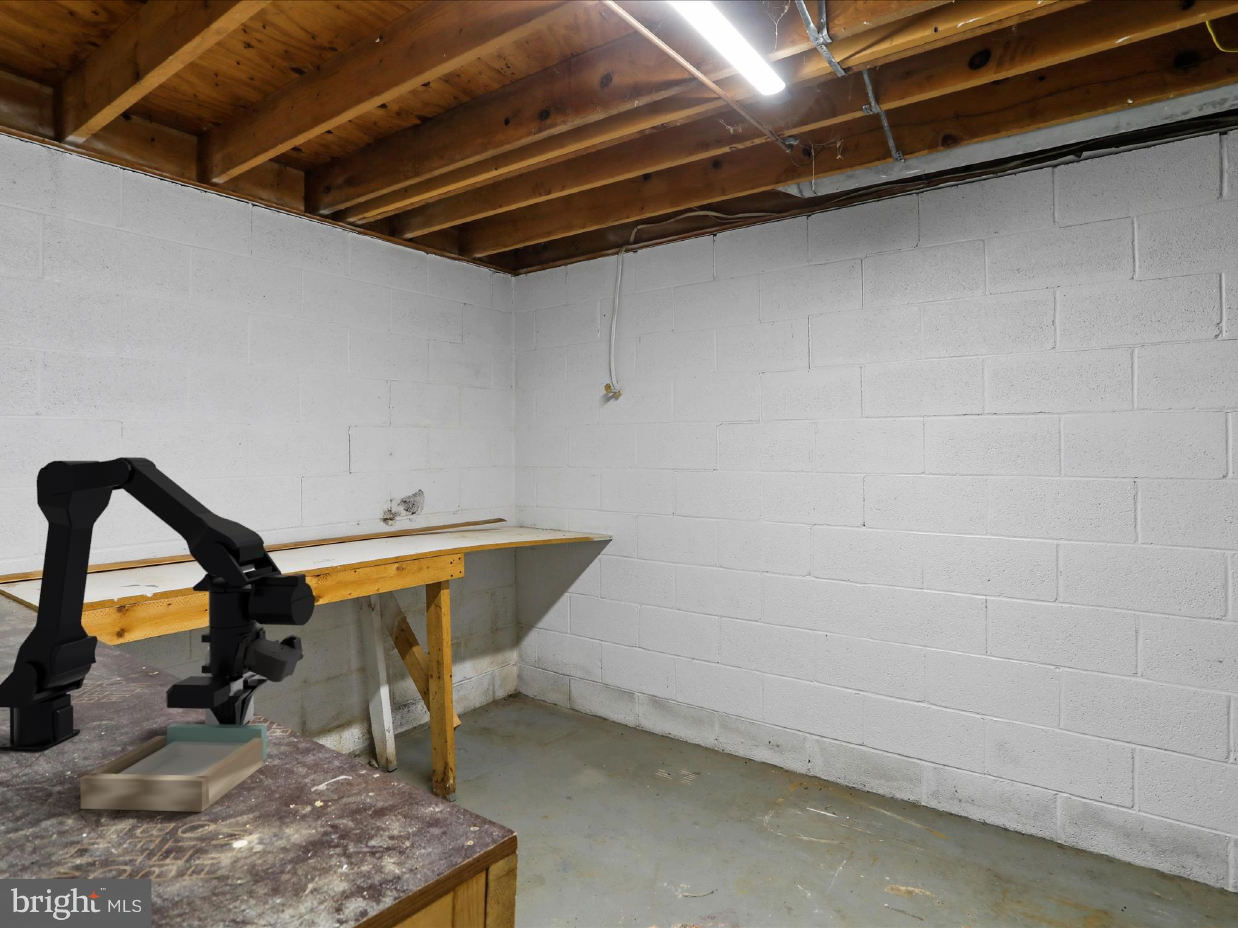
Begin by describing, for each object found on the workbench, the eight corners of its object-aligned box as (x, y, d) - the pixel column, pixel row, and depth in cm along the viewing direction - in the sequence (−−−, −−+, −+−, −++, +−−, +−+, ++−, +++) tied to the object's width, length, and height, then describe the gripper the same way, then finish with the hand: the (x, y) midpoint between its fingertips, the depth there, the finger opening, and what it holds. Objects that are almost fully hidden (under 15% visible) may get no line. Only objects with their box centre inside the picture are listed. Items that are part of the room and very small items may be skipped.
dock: (80, 808, 80) (80, 777, 80) (157, 762, 92) (157, 735, 92) (202, 811, 79) (202, 780, 79) (263, 764, 91) (263, 737, 91)
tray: (100, 800, 82) (100, 762, 82) (173, 756, 94) (172, 723, 94) (207, 802, 81) (207, 764, 81) (266, 758, 93) (266, 725, 93)
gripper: (250, 641, 85) (251, 769, 85) (323, 609, 104) (324, 714, 104) (162, 640, 86) (163, 767, 86) (251, 608, 104) (251, 712, 104)
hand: (233, 737), depth 95 cm, fingers closed
